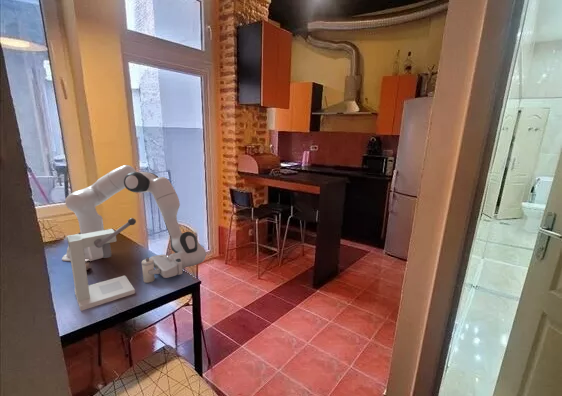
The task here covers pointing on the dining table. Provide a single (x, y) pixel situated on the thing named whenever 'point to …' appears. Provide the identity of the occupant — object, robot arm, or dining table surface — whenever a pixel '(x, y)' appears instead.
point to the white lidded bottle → (146, 266)
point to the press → (83, 291)
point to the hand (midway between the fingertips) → (146, 270)
